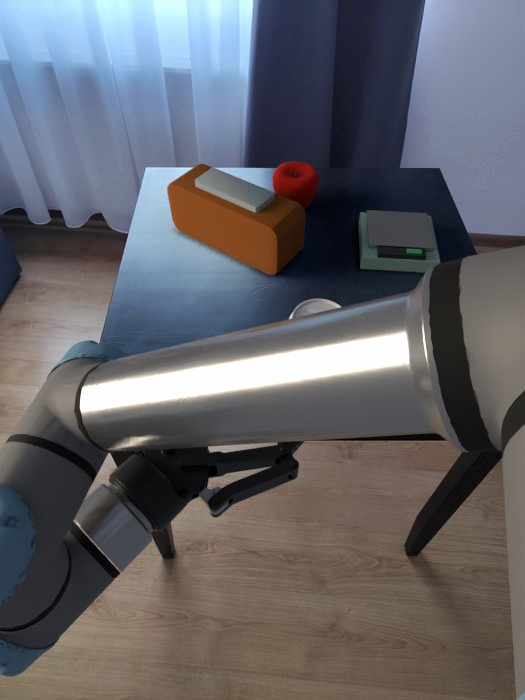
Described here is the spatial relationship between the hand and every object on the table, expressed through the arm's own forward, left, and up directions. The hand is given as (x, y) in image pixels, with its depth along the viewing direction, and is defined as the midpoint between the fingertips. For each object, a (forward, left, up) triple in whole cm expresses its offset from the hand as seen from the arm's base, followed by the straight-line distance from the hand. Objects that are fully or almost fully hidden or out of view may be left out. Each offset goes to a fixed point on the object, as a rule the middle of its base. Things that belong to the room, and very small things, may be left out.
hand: (270, 373), depth 56 cm
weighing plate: (+39, -20, -7) cm, 44 cm away
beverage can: (+8, -6, -10) cm, 14 cm away
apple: (+49, -1, -10) cm, 50 cm away
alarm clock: (+37, +9, -10) cm, 39 cm away
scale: (+38, -20, -10) cm, 44 cm away
